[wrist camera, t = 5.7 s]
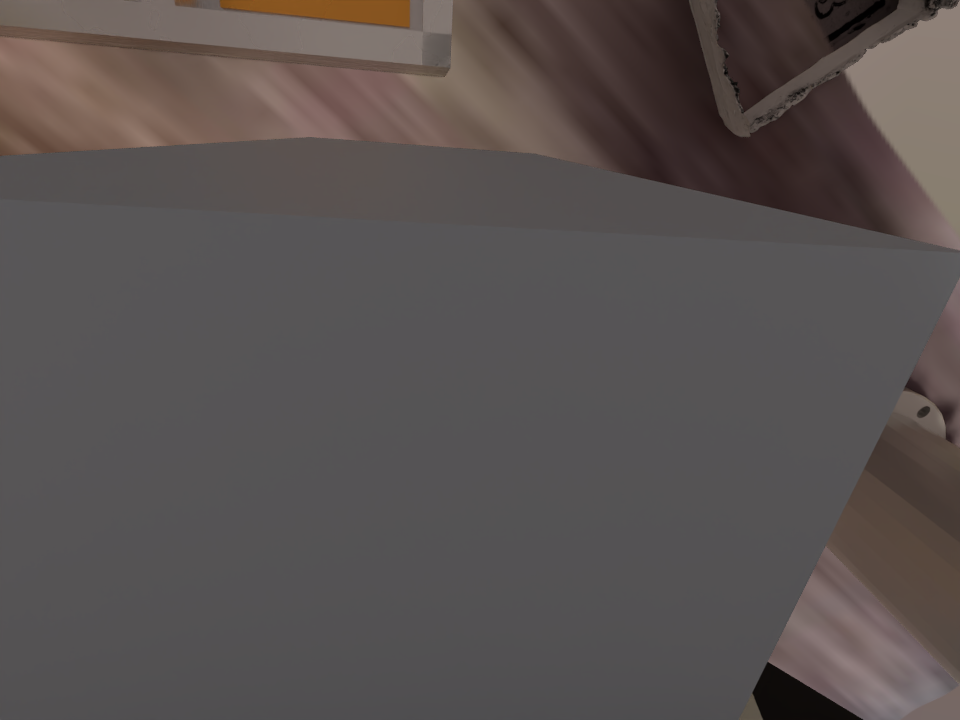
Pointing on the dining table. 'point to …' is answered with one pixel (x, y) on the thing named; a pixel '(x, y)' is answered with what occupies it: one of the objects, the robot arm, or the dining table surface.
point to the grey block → (422, 431)
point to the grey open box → (253, 29)
